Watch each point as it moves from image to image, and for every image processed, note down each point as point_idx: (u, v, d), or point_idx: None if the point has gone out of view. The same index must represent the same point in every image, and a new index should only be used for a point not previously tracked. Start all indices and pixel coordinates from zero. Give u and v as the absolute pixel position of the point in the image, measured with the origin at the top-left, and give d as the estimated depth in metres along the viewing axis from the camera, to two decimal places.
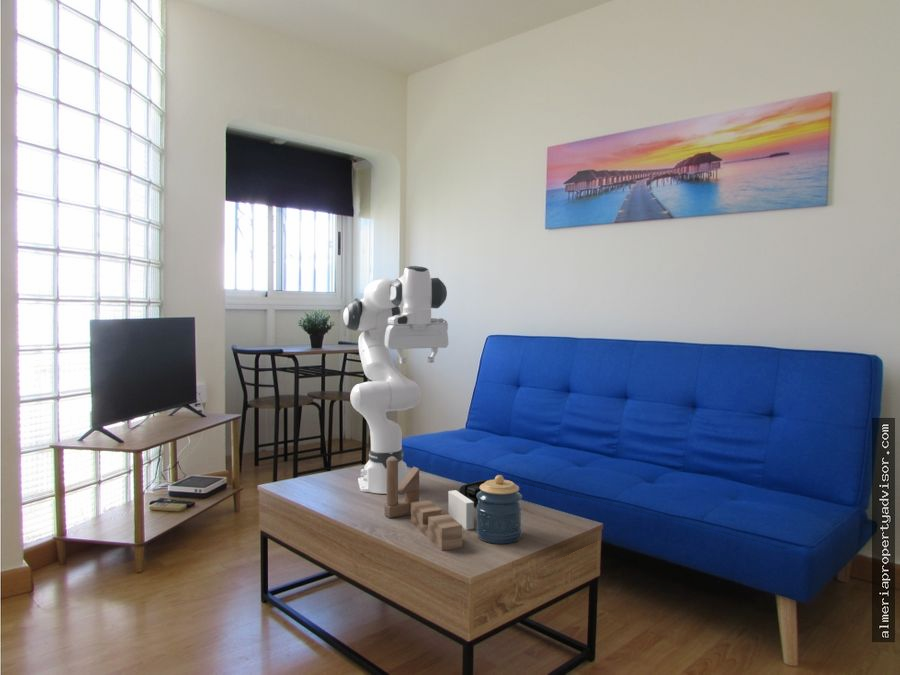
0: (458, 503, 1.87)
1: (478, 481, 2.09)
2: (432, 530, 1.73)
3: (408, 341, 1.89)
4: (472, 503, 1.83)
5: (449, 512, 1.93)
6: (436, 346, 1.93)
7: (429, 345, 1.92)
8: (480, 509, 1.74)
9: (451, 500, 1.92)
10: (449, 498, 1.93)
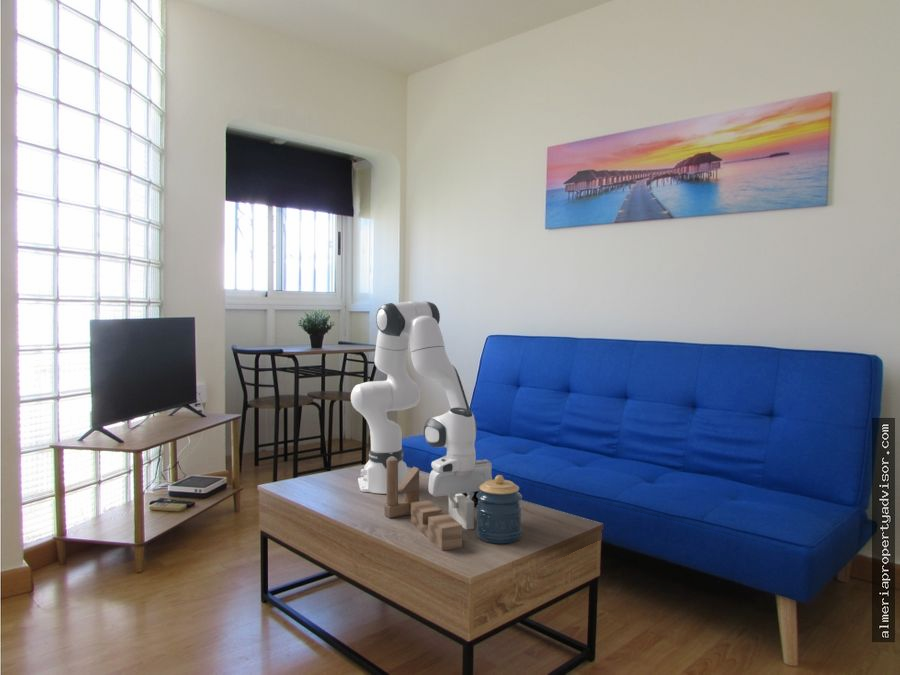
0: (458, 502, 1.87)
1: None
2: (432, 530, 1.73)
3: (453, 487, 1.85)
4: (472, 503, 1.83)
5: (449, 512, 1.93)
6: None
7: (473, 489, 1.88)
8: (480, 509, 1.74)
9: None
10: (449, 498, 1.93)
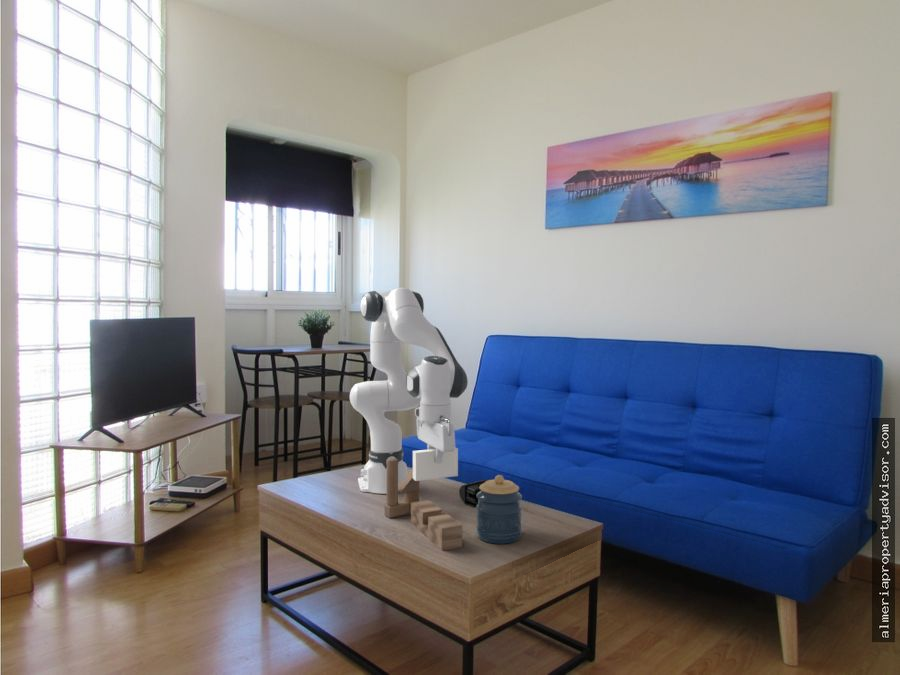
0: None
1: (478, 481, 2.09)
2: (432, 530, 1.73)
3: (425, 435, 1.80)
4: (415, 453, 1.74)
5: None
6: (437, 448, 1.72)
7: (434, 445, 1.74)
8: (480, 509, 1.74)
9: None
10: None
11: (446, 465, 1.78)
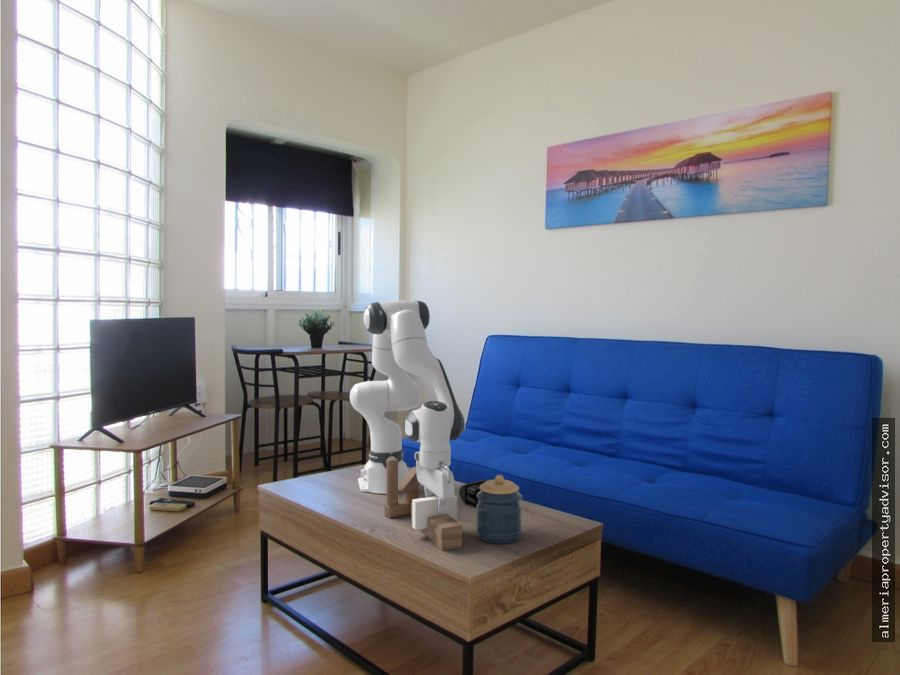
0: None
1: (478, 481, 2.09)
2: (432, 530, 1.73)
3: (424, 480, 1.80)
4: (414, 502, 1.75)
5: None
6: (437, 495, 1.72)
7: (434, 491, 1.74)
8: (480, 509, 1.74)
9: None
10: None
11: (446, 513, 1.79)
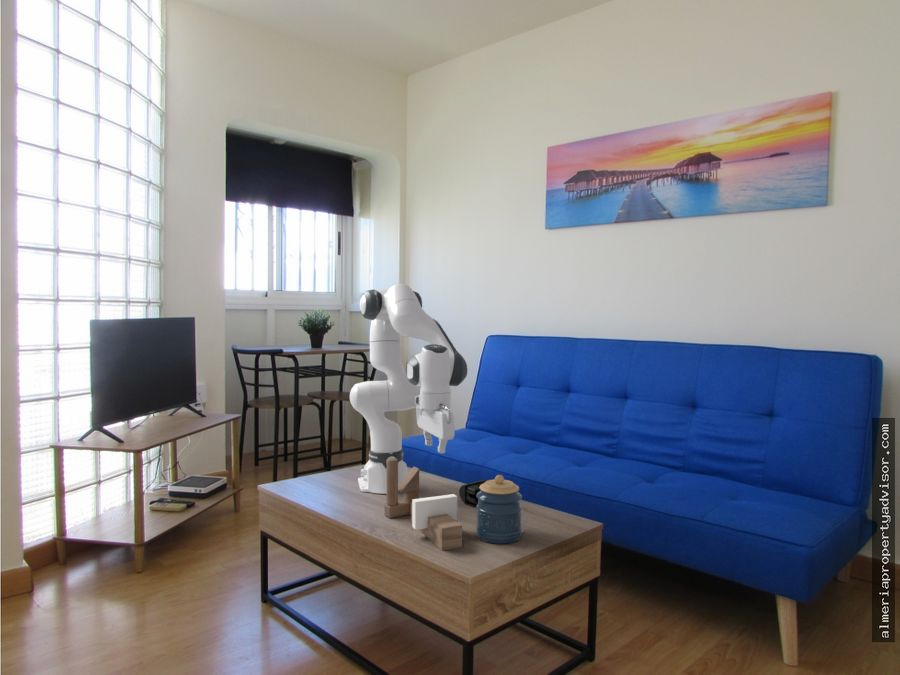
0: None
1: (478, 481, 2.09)
2: (432, 530, 1.73)
3: (424, 423, 1.81)
4: (414, 502, 1.75)
5: None
6: (437, 436, 1.72)
7: (433, 433, 1.75)
8: (480, 509, 1.74)
9: None
10: None
11: (446, 513, 1.79)
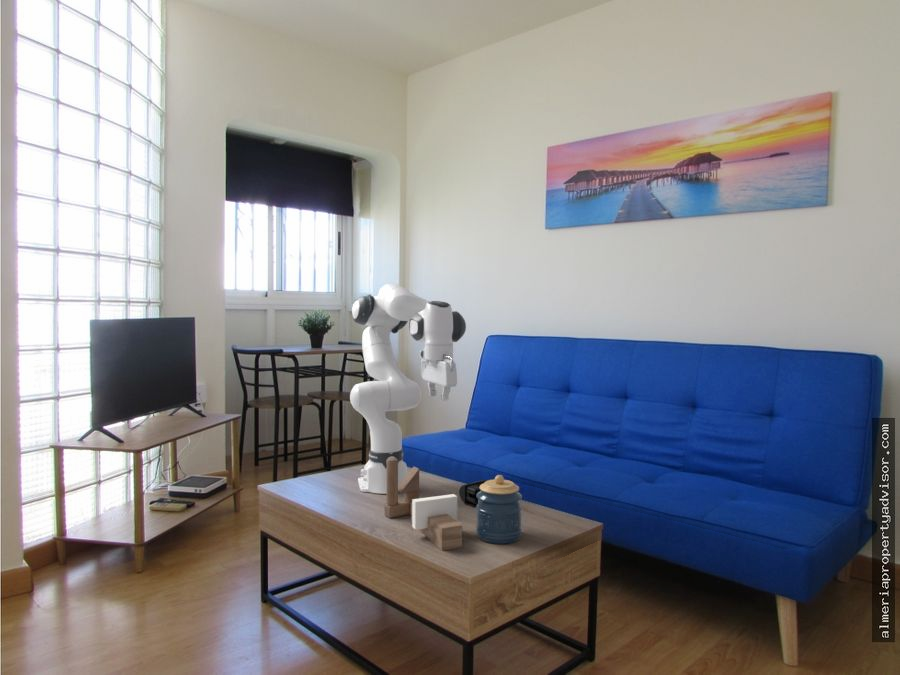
0: None
1: (478, 481, 2.09)
2: (432, 530, 1.73)
3: (429, 375, 1.95)
4: (414, 502, 1.75)
5: None
6: (441, 384, 1.86)
7: (437, 382, 1.88)
8: (480, 509, 1.74)
9: None
10: None
11: (446, 513, 1.79)
